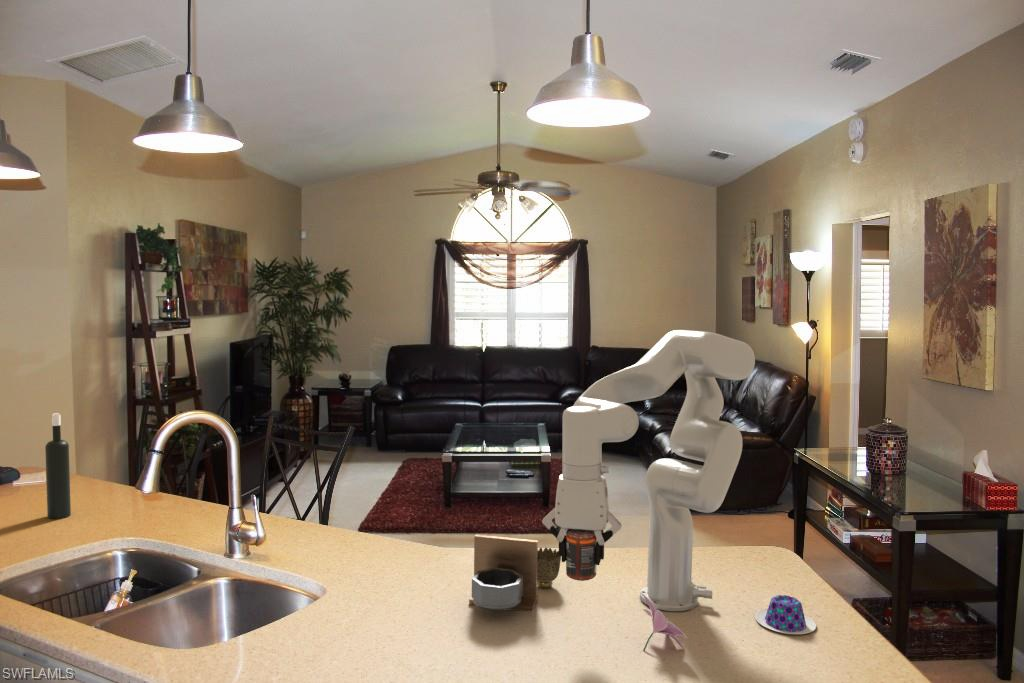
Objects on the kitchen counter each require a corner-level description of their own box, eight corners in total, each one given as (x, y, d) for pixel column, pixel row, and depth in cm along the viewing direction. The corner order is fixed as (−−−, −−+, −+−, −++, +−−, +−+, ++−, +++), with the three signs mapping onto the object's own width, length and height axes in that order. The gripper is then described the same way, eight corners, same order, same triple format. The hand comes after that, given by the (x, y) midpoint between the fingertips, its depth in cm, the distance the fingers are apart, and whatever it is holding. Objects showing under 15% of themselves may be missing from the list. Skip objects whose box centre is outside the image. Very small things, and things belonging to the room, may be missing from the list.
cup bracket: (537, 600, 166) (539, 538, 165) (524, 628, 152) (525, 561, 151) (476, 593, 169) (477, 532, 168) (458, 620, 155) (458, 554, 154)
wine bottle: (42, 518, 216) (39, 414, 213) (58, 512, 221) (54, 411, 219) (60, 519, 215) (57, 415, 212) (75, 513, 220) (72, 412, 218)
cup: (558, 594, 169) (558, 559, 169) (525, 591, 171) (526, 557, 170) (562, 581, 177) (563, 548, 176) (531, 578, 178) (532, 545, 177)
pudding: (745, 624, 157) (746, 600, 156) (769, 606, 166) (770, 583, 165) (802, 643, 149) (804, 618, 148) (824, 624, 158) (826, 599, 157)
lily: (685, 673, 138) (704, 623, 140) (626, 645, 139) (646, 595, 141) (671, 661, 150) (688, 615, 152) (616, 635, 151) (635, 589, 153)
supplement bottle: (602, 575, 147) (603, 519, 146) (583, 584, 143) (584, 527, 142) (578, 567, 152) (579, 512, 150) (559, 576, 147) (560, 519, 146)
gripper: (628, 468, 147) (627, 557, 149) (541, 463, 151) (541, 550, 153) (625, 478, 140) (624, 572, 141) (534, 473, 144) (534, 564, 145)
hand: (581, 560), depth 147 cm, fingers closed on supplement bottle, 6 cm apart
